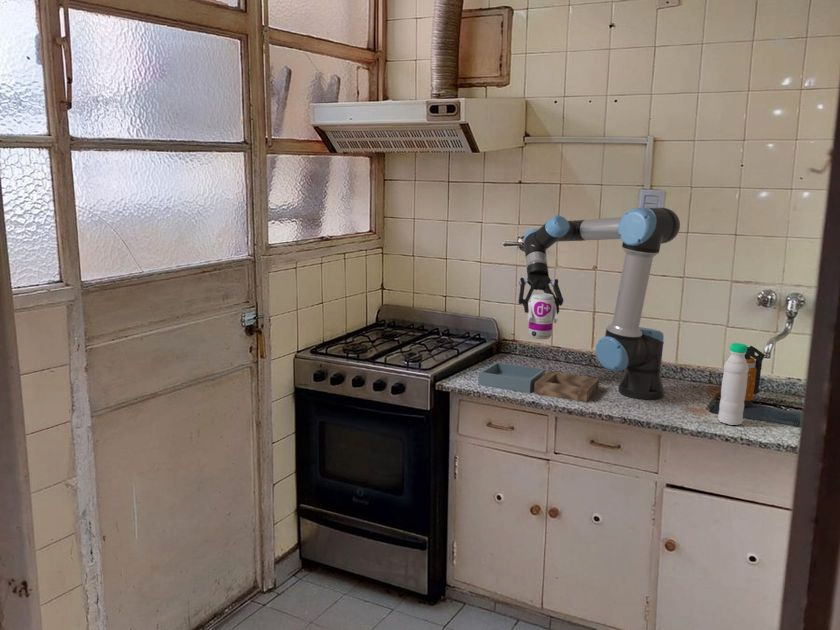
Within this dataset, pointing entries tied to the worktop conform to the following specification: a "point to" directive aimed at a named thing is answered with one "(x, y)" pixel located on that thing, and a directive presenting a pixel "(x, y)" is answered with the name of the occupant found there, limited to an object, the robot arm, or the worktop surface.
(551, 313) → the white soda can
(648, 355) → the robot arm
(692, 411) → the worktop surface
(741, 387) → the white plastic bottle
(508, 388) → the tray
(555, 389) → the can holder
